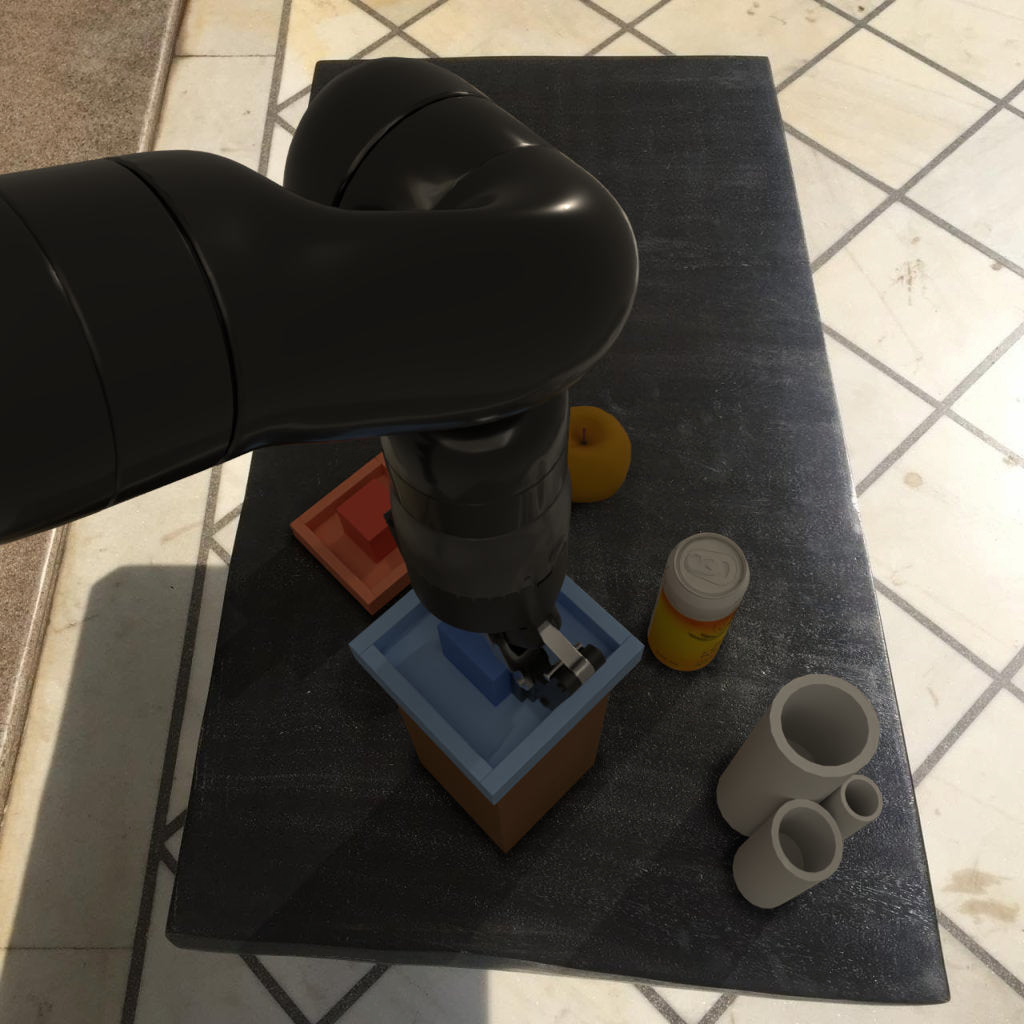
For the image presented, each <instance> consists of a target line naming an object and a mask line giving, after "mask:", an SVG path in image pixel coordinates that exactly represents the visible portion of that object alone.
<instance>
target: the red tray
mask: <svg viewBox="0 0 1024 1024" xmlns="http://www.w3.org/2000/svg"><path fill="white" fill-rule="evenodd" d="M374 478H376V479H377V480H378V481H379V482H380V483H381V484H382V485H383V486H384V487H386V488H387V489H388V490H389V476H388V472H387V468H386V464H385V460H384V456H383V452H382V451H381V452H380V453H378V454H377V455H375V457H373V458H372V459H371V460H369V461H368V462H367V463H365V464H364V465H363V466H361V467H360V468H359V469H358V470H357V471H355V472H354V473H353V474H352V475H350V476H349V477H348V478H347V479H345V480H344V481H343V482H342V483H340V484H338V485H337V487H335V488H333V490H331V491H330V492H329V493H327V494H326V495H325V496H323V497H322V498H321V499H320V500H318V501H317V502H316V503H315V504H313V505H312V506H310V508H308V509H307V510H306V511H305V512H303V513H302V514H301V515H299V516H298V517H297V518H295V519H294V520H293V521H292V522H291V523H289V527H290V528H291V531H292V533H293V535H294V537H295V538H296V539H297V540H298V541H299V543H301V545H303V546H304V547H305V549H307V551H308V552H309V553H310V554H311V555H313V557H314V558H315V559H316V560H317V561H318V562H319V563H320V564H321V565H322V566H323V567H324V568H325V569H326V570H327V571H328V573H330V574H331V575H332V576H333V577H334V578H335V579H336V580H337V581H338V582H339V583H340V585H342V586H343V587H344V588H345V590H346V591H348V593H349V594H351V596H352V597H354V599H355V600H356V601H357V602H358V603H359V605H361V606H362V607H363V608H364V609H365V610H366V611H367V612H368V613H369V614H370V615H371V616H374V615H375V614H376V613H377V612H379V611H380V610H381V609H382V608H383V607H384V606H385V605H387V604H388V603H389V602H390V601H391V600H392V599H394V598H395V597H396V596H398V595H399V593H401V592H402V591H403V590H405V588H406V587H408V586H409V585H411V582H410V579H409V575H408V571H407V568H406V564H405V562H404V559H403V557H402V555H401V553H400V551H399V549H398V547H397V548H395V549H394V550H393V551H392V552H391V553H389V554H388V555H387V556H386V557H385V558H383V559H382V560H381V561H380V562H379V563H377V564H376V563H375V562H374V561H373V560H372V559H371V558H370V557H369V556H368V555H367V554H366V553H365V552H364V551H363V550H362V549H361V548H360V547H359V546H358V545H357V544H356V543H355V542H353V541H352V540H351V539H350V538H349V537H348V536H347V535H346V534H345V532H344V529H343V527H342V524H341V521H340V519H339V516H338V513H337V510H336V508H338V507H339V506H340V505H342V504H343V503H344V502H345V501H347V500H348V499H349V498H350V497H352V496H353V495H354V494H355V493H357V492H358V491H359V490H360V489H362V488H363V487H364V486H365V485H367V484H368V483H369V482H370V481H372V480H373V479H374Z"/></svg>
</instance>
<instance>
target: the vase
mask: <svg viewBox="0 0 1024 1024" xmlns="http://www.w3.org/2000/svg"><path fill="white" fill-rule="evenodd" d="M880 737H881V729H880V723H879V717H878V714H877V712H876V710H875V708H874V707H873V704H872V703H871V701H870V699H869V698H868V697H867V696H866V695H865V694H864V693H863V692H862V691H861V690H860V689H859V688H858V687H857V686H855V685H853V684H851V683H850V682H849V681H846V680H845V679H844V678H841V677H836V676H834V675H830V674H826V673H821V674H819V673H808V674H806V675H802V676H799V677H795V678H793V679H792V680H791V681H789V682H788V683H786V684H785V685H784V686H782V687H781V688H780V690H779V691H778V692H777V694H776V695H775V697H774V698H773V699H772V701H771V703H770V704H769V706H768V707H767V709H766V710H765V711H764V713H763V714H762V716H761V717H760V719H759V720H758V722H757V723H756V725H755V726H754V727H753V728H752V730H751V732H750V733H749V734H748V736H747V738H746V739H745V740H744V742H743V743H742V745H741V746H740V748H739V749H738V751H737V752H736V753H735V755H734V756H733V758H732V759H731V761H730V762H729V764H728V765H727V767H726V768H725V770H724V771H723V772H722V774H721V776H720V777H719V779H718V783H717V786H716V790H715V791H716V804H717V806H718V809H719V812H720V814H721V816H722V817H723V819H724V820H725V821H726V823H727V824H728V825H729V826H730V827H731V828H732V829H733V830H735V831H736V832H738V834H740V835H742V836H745V837H748V838H747V839H746V840H745V841H744V842H743V843H742V844H741V845H740V846H739V847H738V849H737V850H736V852H735V854H734V856H733V862H732V874H733V875H732V876H733V880H734V882H735V884H736V887H737V889H738V891H739V892H740V893H741V895H742V896H743V898H744V899H745V900H746V901H748V902H749V903H750V904H752V905H753V906H756V907H758V908H760V909H774V908H776V907H779V906H782V905H783V904H785V903H787V902H789V901H790V900H792V899H794V898H795V897H797V896H799V895H801V894H803V893H804V892H806V891H807V890H809V889H811V888H813V887H815V886H816V885H818V884H820V883H821V882H823V881H824V880H827V879H829V878H830V877H831V876H832V875H833V874H834V873H835V872H836V871H838V869H839V867H840V864H841V862H842V861H843V853H844V843H843V842H844V841H845V840H846V839H848V838H849V837H851V836H852V835H854V834H855V833H857V832H858V831H860V830H861V829H862V828H864V827H866V826H867V825H869V824H870V823H872V822H873V821H875V820H876V819H877V818H878V817H879V816H880V815H881V814H882V813H881V812H882V811H883V805H884V800H883V795H882V792H881V790H880V788H879V786H878V785H877V784H876V783H875V781H873V780H872V779H871V778H869V777H868V776H866V775H863V774H856V773H858V772H859V771H860V770H862V769H863V768H864V767H865V766H866V765H867V764H868V763H870V762H871V760H872V759H873V756H874V755H875V753H876V752H877V750H878V746H879V741H880Z"/></svg>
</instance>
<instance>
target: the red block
mask: <svg viewBox="0 0 1024 1024" xmlns="http://www.w3.org/2000/svg"><path fill="white" fill-rule="evenodd" d="M389 509H391V504H390V491H389V490H388V489H387V488H386V487H384V486H383V485H382V484H381V483H380V482H379V481H378V480H377V479H376V478H374V479H373V480H372V481H370V482H369V483H368V484H367V485H365V486H364V487H363V488H362V489H360V490H359V491H358V492H357V493H355V494H354V495H353V496H352V497H350V498H349V499H348V500H347V501H345V502H344V503H343V504H342V505H340V506H339V507H338V508H336V510H337V513H338V516H339V519H340V521H341V524H342V527H343V529H344V532H345V534H346V535H347V536H348V537H349V538H350V539H351V540H352V541H353V542H355V543H356V544H357V545H358V546H359V547H360V548H361V549H362V550H363V551H364V552H365V553H366V554H367V555H368V556H369V557H370V558H371V559H372V560H373V561H374V562H375V563H376V564H377V563H379V562H380V561H381V560H382V559H383V558H385V557H386V556H387V555H388V554H389V553H391V552H392V551H393V550H394V549H395V548H397V547H398V546H397V544H396V542H395V540H394V538H393V536H392V533H391V531H390V529H389V527H388V525H387V524H386V520H385V518H384V516H383V514H384V513H386V512H387V511H388V510H389Z"/></svg>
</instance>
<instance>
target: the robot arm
mask: <svg viewBox="0 0 1024 1024" xmlns="http://www.w3.org/2000/svg"><path fill="white" fill-rule="evenodd" d="M640 263H641V261H640V251H639V247H638V243H637V239H636V235H635V231H634V228H633V225H632V224H631V221H630V219H629V217H628V215H627V214H626V212H625V210H624V209H623V207H622V206H621V204H620V202H618V200H617V198H615V196H614V195H613V194H612V193H611V192H610V191H609V190H608V189H607V188H606V186H605V185H604V184H602V183H601V182H600V181H599V180H598V179H597V178H596V177H595V176H594V175H592V174H591V173H590V172H588V171H587V170H586V169H584V168H583V167H582V166H581V165H579V164H578V163H576V162H575V161H574V160H573V159H571V158H570V157H569V156H567V155H565V154H564V153H563V152H561V151H560V150H559V149H557V148H556V147H555V146H553V145H552V144H551V143H549V142H548V141H546V139H544V138H543V137H542V136H540V135H539V134H538V133H536V132H534V130H532V129H531V128H529V127H528V126H527V125H525V124H524V123H523V122H521V121H520V120H518V119H517V118H516V117H514V116H513V115H511V114H510V113H509V112H507V111H506V110H505V109H504V108H502V107H500V106H499V105H498V104H497V103H496V102H495V101H493V100H492V99H491V98H489V97H488V96H487V95H485V93H483V92H482V91H480V90H479V89H478V88H476V87H475V86H474V85H472V84H471V83H469V82H467V80H465V79H464V78H462V77H460V76H459V75H457V74H455V73H454V72H452V71H450V70H448V69H446V68H444V67H442V66H439V65H437V64H435V63H433V62H429V61H426V60H423V59H418V58H414V57H404V56H382V57H376V58H373V59H369V60H366V61H364V62H361V63H359V64H356V65H354V66H352V67H350V68H348V69H346V70H344V71H342V72H341V73H340V74H338V75H336V76H335V77H333V78H332V79H331V80H330V81H329V82H328V83H326V84H325V86H324V87H322V89H320V91H318V93H317V94H316V95H315V97H314V98H313V99H312V101H310V103H309V105H308V106H307V108H306V109H305V111H304V113H303V114H302V116H301V118H300V119H299V122H298V125H297V126H296V129H295V131H294V133H293V135H292V138H291V141H290V144H289V147H288V150H287V155H286V158H285V164H284V169H283V180H282V185H281V184H279V183H278V182H276V181H274V180H272V179H271V178H269V177H267V176H265V175H263V174H261V173H260V172H258V171H256V170H254V169H252V168H250V167H248V166H247V165H245V164H242V163H240V162H239V161H236V160H234V159H232V158H228V157H227V156H223V155H220V154H216V153H213V152H209V151H203V150H195V149H163V150H149V151H148V150H147V151H140V152H131V153H125V154H118V155H111V156H105V157H103V158H102V157H101V158H95V159H89V160H82V161H77V162H70V163H63V164H58V165H52V166H51V165H50V166H46V167H40V168H39V167H38V168H33V169H26V170H20V171H15V172H9V173H8V172H7V173H2V174H0V546H3V545H8V544H11V543H13V542H16V541H20V540H22V539H27V538H29V537H32V536H35V535H39V534H42V533H45V532H48V531H50V530H51V531H52V530H54V529H57V528H60V527H62V526H66V525H69V524H70V523H74V522H76V521H79V520H82V519H85V518H88V517H90V516H93V515H95V514H98V513H101V512H102V511H104V510H108V509H110V508H113V507H115V506H117V505H120V504H122V503H125V502H127V501H130V500H132V499H133V500H134V499H136V498H138V497H140V496H143V495H146V494H148V493H151V492H154V491H155V490H158V489H161V488H163V487H166V486H168V485H172V484H174V483H176V482H179V481H181V480H182V481H183V480H184V479H186V478H189V477H191V476H192V477H193V476H194V475H198V474H199V473H202V472H205V471H207V470H209V469H212V468H214V467H218V466H220V465H223V464H226V463H228V462H230V461H233V460H234V459H237V458H240V457H242V456H245V455H247V454H249V453H252V452H254V451H257V450H260V449H264V448H270V447H271V448H272V447H279V446H280V447H281V446H290V445H291V446H292V445H308V444H310V445H311V444H326V443H327V444H329V443H339V442H348V441H355V440H364V439H372V438H378V439H379V444H380V448H381V452H383V456H384V460H385V464H386V468H387V472H388V476H389V491H390V504H391V509H389V510H388V511H387V512H386V513H384V514H383V516H384V518H385V520H386V524H387V525H388V527H389V529H390V531H391V533H392V536H393V538H394V540H395V542H396V544H397V546H398V549H399V551H400V553H401V555H402V557H403V559H404V562H405V564H406V568H407V571H408V575H409V579H410V582H411V583H410V585H411V587H412V589H413V590H414V592H415V594H416V595H417V597H418V599H419V600H420V601H421V603H422V604H423V605H424V606H425V608H426V609H427V610H428V611H429V612H430V613H432V614H433V615H434V616H435V617H437V618H438V619H439V620H441V621H443V622H444V623H446V624H448V625H450V626H452V627H455V628H458V629H461V630H464V631H468V632H474V633H479V634H480V635H481V636H482V637H484V638H485V640H486V642H487V644H488V646H489V648H490V650H491V652H492V654H493V656H494V658H495V660H496V661H498V662H499V663H500V664H501V665H503V666H504V667H505V668H506V669H508V670H509V671H510V672H512V674H511V678H512V694H513V695H514V696H515V697H516V698H517V699H518V700H519V701H520V702H524V701H525V700H526V699H527V698H528V699H529V700H530V701H531V702H535V701H536V700H537V699H539V702H540V703H541V704H542V705H543V706H544V707H545V708H546V707H547V708H548V709H549V710H551V711H553V710H554V709H555V708H557V707H558V706H559V705H560V704H562V703H563V702H564V701H566V700H567V699H568V698H569V697H571V696H572V695H573V694H574V693H575V692H576V691H577V690H578V689H579V688H580V687H581V686H582V685H583V684H584V683H585V682H586V681H587V680H588V679H589V678H590V677H591V676H592V675H593V674H594V673H595V672H596V671H597V670H598V669H599V668H600V667H601V666H602V665H604V664H605V663H606V659H605V657H604V656H603V654H602V652H601V651H600V650H599V649H598V648H597V647H595V646H593V645H592V644H588V645H587V646H586V647H584V646H583V645H582V644H581V643H580V642H576V643H575V644H574V645H572V644H571V643H570V642H569V641H568V640H567V639H566V638H565V637H564V636H563V635H562V634H561V633H560V632H559V630H560V628H561V625H562V620H561V616H560V614H559V612H558V610H557V607H556V605H555V602H556V600H557V597H558V595H559V593H560V590H561V588H562V585H563V582H564V579H565V575H567V570H568V563H569V562H568V559H569V544H570V532H571V531H570V530H571V517H572V516H571V515H572V502H571V501H572V486H571V476H570V471H569V466H568V442H569V429H570V407H571V399H570V398H571V397H570V389H571V387H573V386H574V385H576V384H577V383H579V382H580V381H581V380H582V379H584V378H585V377H586V376H587V375H588V374H589V373H590V372H591V371H592V370H594V368H595V367H596V366H597V365H599V364H600V363H601V361H603V359H604V358H605V357H606V356H607V355H608V354H609V352H610V351H611V349H613V347H614V346H615V344H616V342H617V341H618V339H619V338H620V336H621V335H622V333H623V331H624V330H625V328H626V325H627V323H628V321H629V319H630V316H631V314H632V311H633V308H634V305H635V302H636V299H637V294H638V291H639V282H640V269H641V268H640V267H641V266H640V265H641V264H640Z"/></svg>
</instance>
